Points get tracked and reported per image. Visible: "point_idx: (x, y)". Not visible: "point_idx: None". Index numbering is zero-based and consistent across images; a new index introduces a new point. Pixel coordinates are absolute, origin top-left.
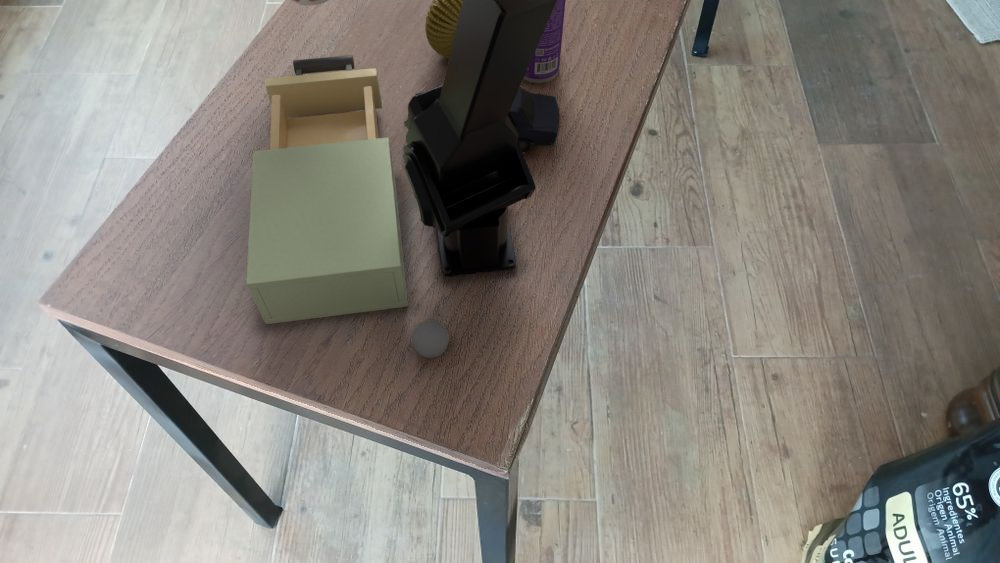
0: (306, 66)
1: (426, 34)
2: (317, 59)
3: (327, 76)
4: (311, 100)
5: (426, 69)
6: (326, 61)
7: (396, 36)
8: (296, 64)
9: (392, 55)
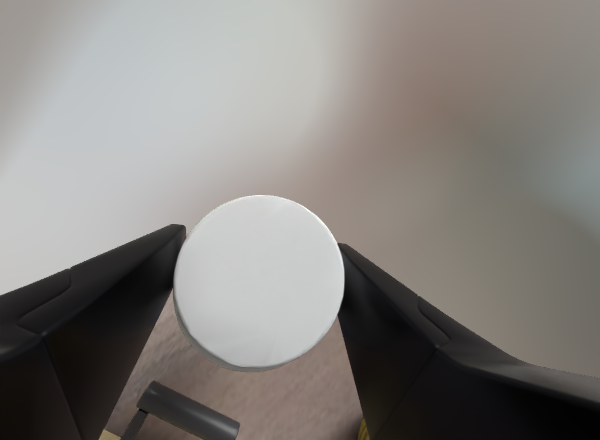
0: (156, 415)
1: (363, 438)
2: (179, 415)
3: None
4: None
5: (332, 429)
6: (189, 429)
7: (332, 334)
8: (142, 407)
9: (309, 370)
